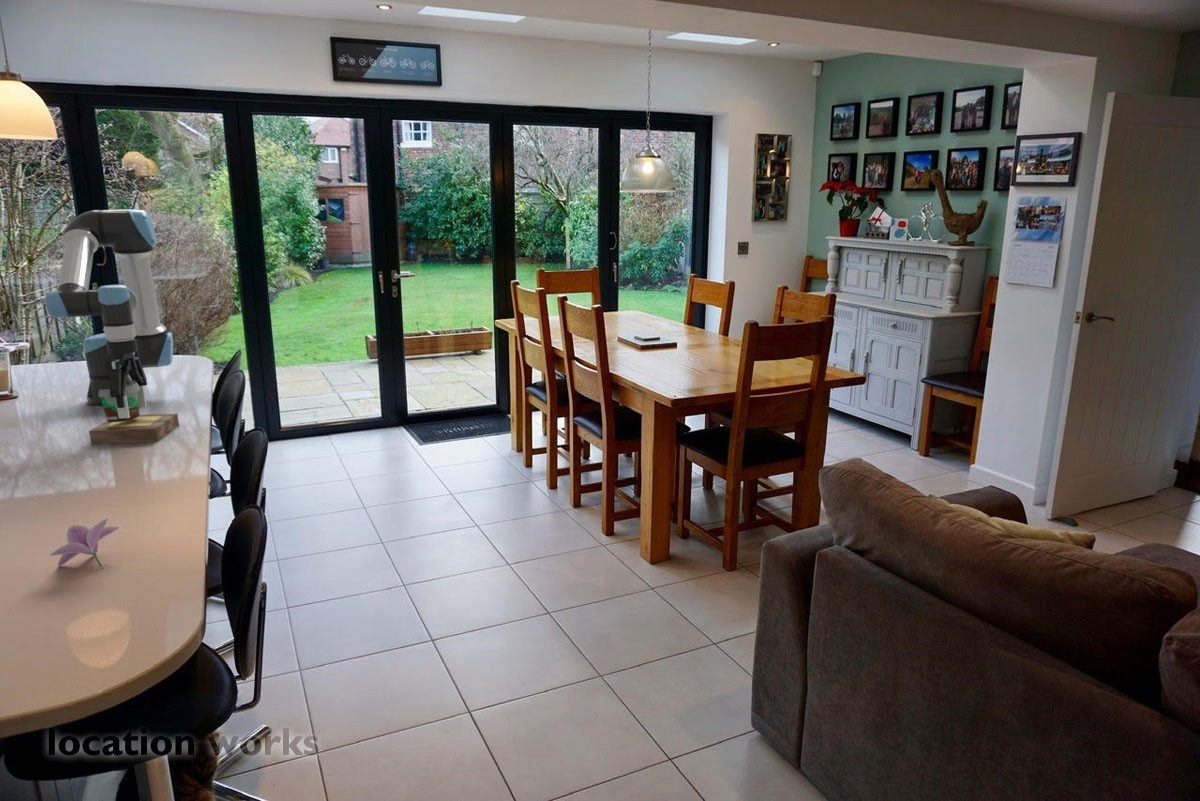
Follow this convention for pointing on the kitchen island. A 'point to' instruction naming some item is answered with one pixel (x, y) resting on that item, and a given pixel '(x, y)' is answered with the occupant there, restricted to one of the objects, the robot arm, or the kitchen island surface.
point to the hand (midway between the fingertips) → (133, 412)
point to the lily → (83, 541)
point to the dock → (135, 429)
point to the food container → (111, 406)
